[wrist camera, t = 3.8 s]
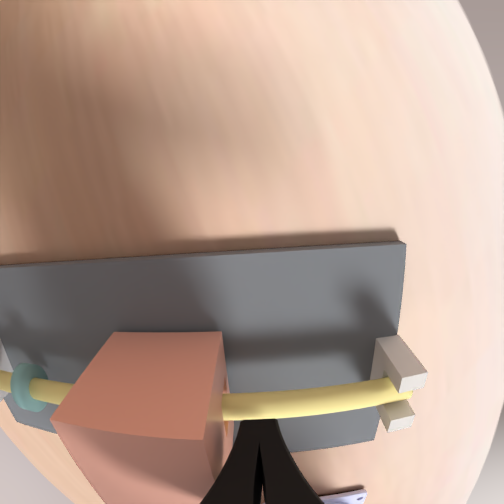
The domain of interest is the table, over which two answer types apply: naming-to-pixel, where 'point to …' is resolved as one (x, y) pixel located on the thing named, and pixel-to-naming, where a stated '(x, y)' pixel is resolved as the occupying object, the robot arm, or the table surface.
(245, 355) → the cord rig
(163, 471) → the marker sleeve
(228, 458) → the robot arm
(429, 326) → the table surface
